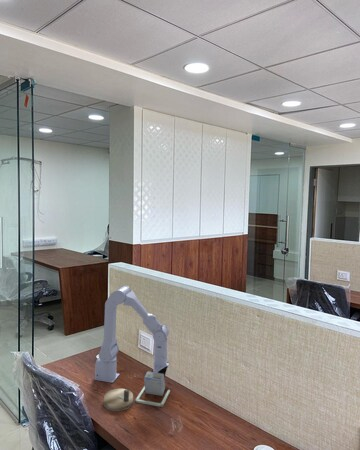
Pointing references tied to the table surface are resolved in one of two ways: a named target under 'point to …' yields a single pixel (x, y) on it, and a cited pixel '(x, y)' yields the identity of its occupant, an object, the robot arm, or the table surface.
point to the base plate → (119, 409)
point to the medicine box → (154, 383)
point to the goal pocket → (149, 401)
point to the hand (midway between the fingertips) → (159, 382)
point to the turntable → (118, 399)
